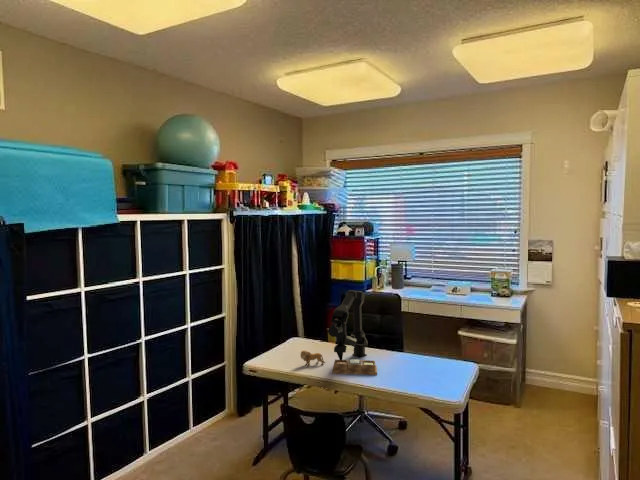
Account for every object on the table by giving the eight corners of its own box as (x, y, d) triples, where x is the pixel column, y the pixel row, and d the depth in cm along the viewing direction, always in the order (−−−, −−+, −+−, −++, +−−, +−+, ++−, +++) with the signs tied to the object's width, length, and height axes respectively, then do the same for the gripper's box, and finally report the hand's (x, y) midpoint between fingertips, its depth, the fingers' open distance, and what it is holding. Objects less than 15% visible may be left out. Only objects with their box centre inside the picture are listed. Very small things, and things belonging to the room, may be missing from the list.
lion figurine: (302, 368, 247) (301, 352, 246) (299, 365, 252) (299, 349, 251) (326, 364, 252) (326, 349, 251) (323, 361, 257) (323, 346, 256)
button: (350, 366, 239) (350, 362, 239) (350, 362, 244) (350, 359, 244) (359, 366, 239) (359, 362, 239) (359, 363, 244) (359, 359, 244)
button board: (332, 373, 238) (332, 364, 238) (333, 367, 248) (333, 358, 248) (377, 374, 236) (377, 366, 235) (376, 368, 246) (376, 359, 245)
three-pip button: (336, 368, 240) (336, 364, 240) (336, 365, 245) (336, 361, 245) (345, 368, 240) (345, 364, 240) (345, 365, 245) (345, 361, 245)
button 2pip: (363, 369, 239) (363, 365, 239) (364, 366, 244) (364, 362, 244) (373, 369, 238) (373, 365, 238) (373, 366, 243) (373, 362, 243)
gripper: (355, 337, 231) (355, 366, 232) (356, 327, 250) (356, 355, 251) (333, 336, 232) (334, 365, 233) (336, 327, 251) (336, 354, 252)
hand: (340, 360), depth 242 cm, fingers closed
